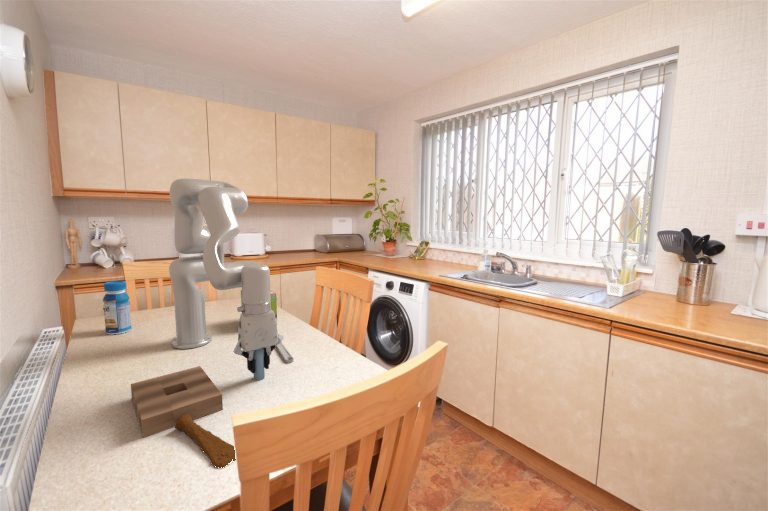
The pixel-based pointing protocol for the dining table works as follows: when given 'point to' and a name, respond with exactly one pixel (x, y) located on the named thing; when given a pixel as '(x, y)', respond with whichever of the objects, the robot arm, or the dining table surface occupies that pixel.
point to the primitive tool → (207, 442)
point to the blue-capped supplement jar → (116, 308)
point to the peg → (259, 364)
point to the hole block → (174, 399)
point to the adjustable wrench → (284, 351)
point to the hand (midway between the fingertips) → (258, 368)
